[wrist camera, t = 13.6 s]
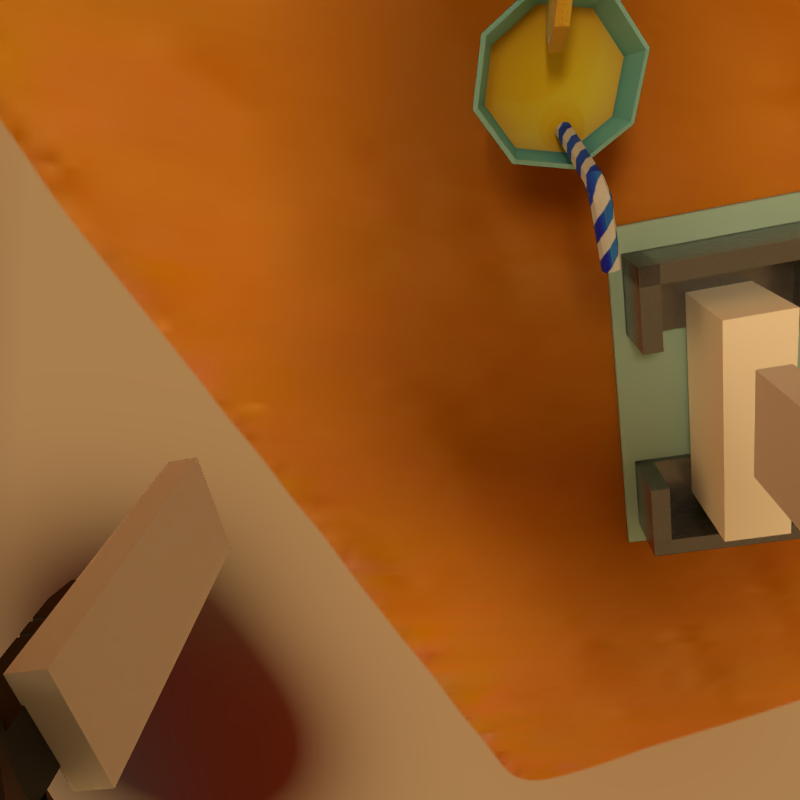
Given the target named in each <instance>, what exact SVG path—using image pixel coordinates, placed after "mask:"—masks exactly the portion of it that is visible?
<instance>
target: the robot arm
mask: <svg viewBox="0 0 800 800" xmlns="http://www.w3.org/2000/svg"><path fill="white" fill-rule="evenodd" d="M754 477H755V479H756V480H757V481H758V482H759V483H760V484H761V486H762V487H763V488H764V489H765V490H766V492H767V493H768V494H769V495H770V496H771V497H772V499H773V500H774V501H775V502H776V503H777V504H778V506H779V507H780V508H781V509H782V510H783V512H784V513H785V514H786V515H787V516H788V517H789V519H790V520H791V521H792V522H793V523H794V525H795V526H796V527H797V528H798V529H799V530H800V369H799V368H797V367H796V366H795V365H793V364H789V365H783V366H776V367H770V368H763V369H757V370H756V375H755V437H754ZM230 548H231V547H230V544H229V541H228V539H227V536H226V534H225V531H224V528H223V525H222V523H221V520H220V517H219V515H218V512H217V510H216V507H215V504H214V501H213V499H212V496H211V493H210V491H209V488H208V485H207V483H206V480H205V478H204V475H203V472H202V470H201V467H200V464H199V462H198V459H197V458H191V459H184V460H178V461H172V462H168V463H167V465H166V466H165V467H164V468H163V470H162V471H161V472H160V473H159V475H158V476H157V477H156V478H155V480H154V481H153V482H152V484H151V485H150V486H149V488H148V489H147V490H146V491H145V493H144V494H143V495H142V496H141V498H140V499H139V500H138V502H137V503H136V504H135V505H134V507H133V508H132V509H131V511H130V512H129V513H128V514H127V516H126V517H125V518H124V520H123V521H122V522H121V524H120V525H119V526H118V527H117V529H116V530H115V531H114V533H113V534H112V535H111V536H110V537H109V539H108V540H107V542H106V543H105V544H104V545H103V546H102V548H101V549H100V550H99V552H98V553H97V554H96V555H95V557H94V558H93V559H92V561H91V562H90V563H89V564H88V566H87V567H86V568H85V570H84V571H83V572H82V573H81V575H80V576H79V577H78V579H77V580H71V581H70V582H68V583H67V584H66V585H65V586H63V587H62V588H61V589H60V590H58V591H57V592H56V593H55V594H53V595H52V596H51V597H50V598H48V600H47V601H46V602H45V603H44V605H43V606H42V607H41V608H40V609H39V611H38V612H37V613H36V614H35V616H34V617H33V621H32V622H29V623H28V624H27V626H26V627H25V628H24V629H23V631H22V632H21V633H20V638H16V639H15V640H14V642H13V643H12V644H11V645H10V647H9V648H8V649H7V650H6V652H5V653H4V654H3V656H2V657H1V658H0V800H53V798H52V797H51V796H50V794H49V792H48V791H47V788H48V787H49V785H50V784H51V782H52V780H53V778H54V777H55V775H56V773H57V771H58V770H59V768H60V770H61V772H62V773H63V774H64V777H65V778H66V780H67V782H68V783H69V785H70V787H71V788H72V790H73V791H86V790H99V789H111V788H115V786H116V784H117V782H118V780H119V777H120V776H121V773H122V771H123V769H124V767H125V765H126V763H127V761H128V759H129V757H130V755H131V753H132V751H133V749H134V747H135V744H136V742H137V740H138V738H139V736H140V734H141V732H142V730H143V728H144V726H145V724H146V722H147V720H148V718H149V716H150V714H151V711H152V709H153V707H154V705H155V703H156V701H157V699H158V697H159V695H160V693H161V691H162V689H163V687H164V685H165V683H166V681H167V678H168V676H169V674H170V672H171V670H172V668H173V666H174V664H175V662H176V660H177V658H178V656H179V654H180V652H181V650H182V647H183V645H184V643H185V641H186V639H187V637H188V635H189V633H190V631H191V629H192V627H193V625H194V623H195V620H196V619H197V616H198V614H199V612H200V610H201V608H202V606H203V604H204V602H205V600H206V598H207V596H208V594H209V592H210V589H211V587H212V585H213V583H214V581H215V579H216V577H217V575H218V573H219V571H220V569H221V567H222V565H223V563H224V561H225V559H226V556H227V555H228V552H229V550H230Z"/></svg>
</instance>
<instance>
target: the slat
mask: <svg viewBox="0 0 800 800" xmlns="http://www.w3.org/2000/svg"><path fill="white" fill-rule="evenodd" d="M685 300H686V330H687V360H688V390H689V420H690V449H691V479H692V492H693V494H694V495H695V497H696V498H697V500H698V502H699V503H700V505H701V506H702V508H703V509H704V511H705V512H706V514H707V515H708V517H709V518H710V520H711V521H712V523H713V524H714V526H715V528H716V529H717V531H718V532H719V534H720V535H721V537H722V538H723V540H724V541H725V542H727V541H735V540H743V539H750V538H758V537H766V536H774V535H782V534H790V533H791V520H790V519H789V517H788V516H787V515H786V514H785V513H784V512H783V510H782V509H781V508H780V507H779V506H778V504H777V503H776V502H775V501H774V500H773V499H772V497H771V496H770V495H769V494H768V493H767V492H766V490H765V489H764V488H763V487H762V486H761V484H760V483H759V482H758V481H757V480H756V479H755V477H754V437H755V375H756V370H757V369H763V368H770V367H776V366H783V365H789V364H793V365H795V366H796V367H797V363H798V338H799V312H800V307H798V306H796V305H795V304H793V303H791V302H789V301H787V300H786V299H784V298H782V297H780V296H778V295H776V294H775V293H773V292H771V291H769V290H767V289H766V288H764V287H762V286H760V285H758V284H757V283H755V282H753V281H747V282H741V283H736V284H730V285H725V286H719V287H713V288H708V289H702V290H697V291H691V292H686V293H685Z"/></svg>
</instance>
